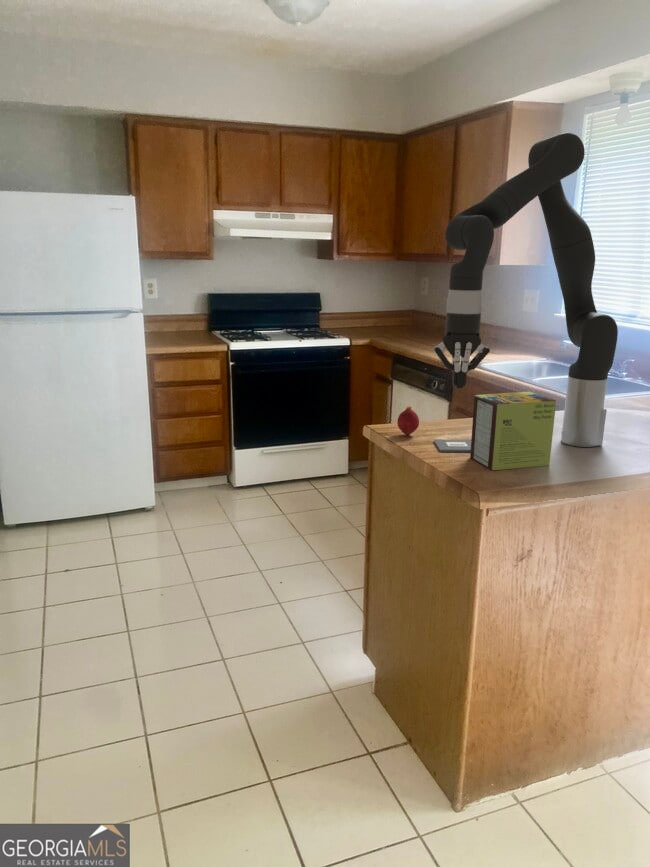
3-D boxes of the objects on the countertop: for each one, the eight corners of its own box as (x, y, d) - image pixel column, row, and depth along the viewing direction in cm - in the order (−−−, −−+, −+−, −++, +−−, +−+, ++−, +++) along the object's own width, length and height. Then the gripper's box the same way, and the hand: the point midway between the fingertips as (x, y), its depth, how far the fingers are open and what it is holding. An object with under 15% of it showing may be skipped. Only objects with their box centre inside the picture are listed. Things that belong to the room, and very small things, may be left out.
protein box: (550, 465, 148) (557, 400, 144) (491, 471, 144) (497, 404, 140) (524, 452, 158) (530, 390, 154) (468, 457, 154) (473, 394, 149)
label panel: (506, 442, 166) (507, 439, 166) (517, 452, 158) (517, 449, 157) (433, 441, 166) (433, 439, 166) (440, 451, 157) (440, 449, 157)
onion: (417, 438, 169) (419, 409, 166) (395, 437, 170) (397, 408, 167) (419, 433, 174) (420, 404, 172) (397, 431, 175) (399, 403, 173)
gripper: (489, 309, 145) (483, 385, 150) (431, 309, 145) (426, 384, 150) (498, 312, 138) (491, 391, 143) (436, 311, 138) (432, 391, 142)
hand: (458, 387), depth 146 cm, fingers closed
